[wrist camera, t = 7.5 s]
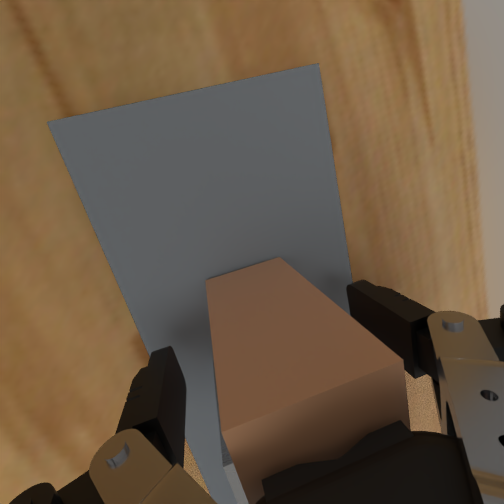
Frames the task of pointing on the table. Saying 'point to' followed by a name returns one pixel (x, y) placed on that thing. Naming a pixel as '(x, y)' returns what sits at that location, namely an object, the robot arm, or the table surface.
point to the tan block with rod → (294, 373)
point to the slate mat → (209, 212)
